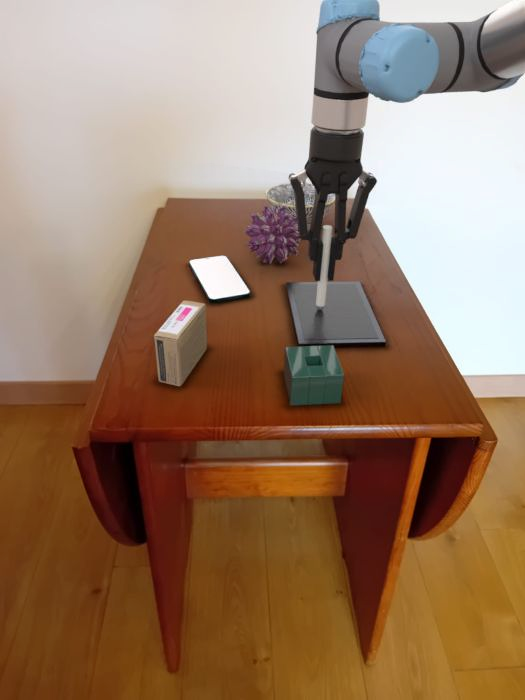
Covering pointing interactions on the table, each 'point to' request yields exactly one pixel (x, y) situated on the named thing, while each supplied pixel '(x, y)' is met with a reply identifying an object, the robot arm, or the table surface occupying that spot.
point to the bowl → (285, 197)
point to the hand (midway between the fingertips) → (322, 276)
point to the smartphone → (219, 279)
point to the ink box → (181, 342)
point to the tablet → (333, 316)
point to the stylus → (324, 266)
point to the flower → (273, 234)
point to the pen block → (313, 375)
